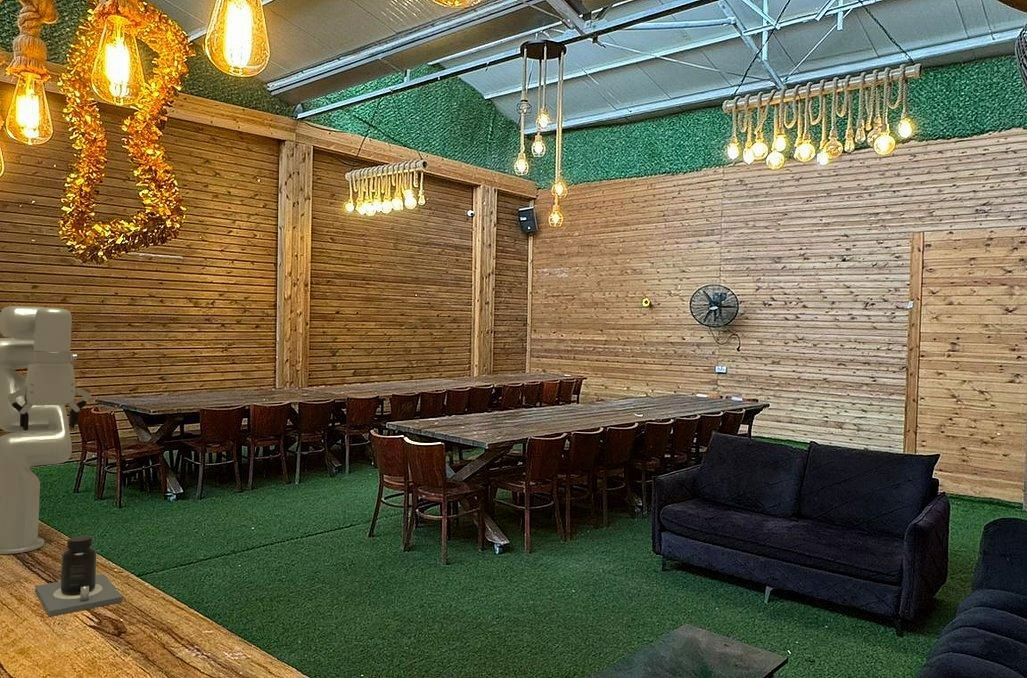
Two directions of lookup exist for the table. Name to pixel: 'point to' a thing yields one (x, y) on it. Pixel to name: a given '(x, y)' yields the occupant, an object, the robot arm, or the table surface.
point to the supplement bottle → (78, 566)
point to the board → (77, 597)
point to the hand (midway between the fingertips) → (49, 428)
